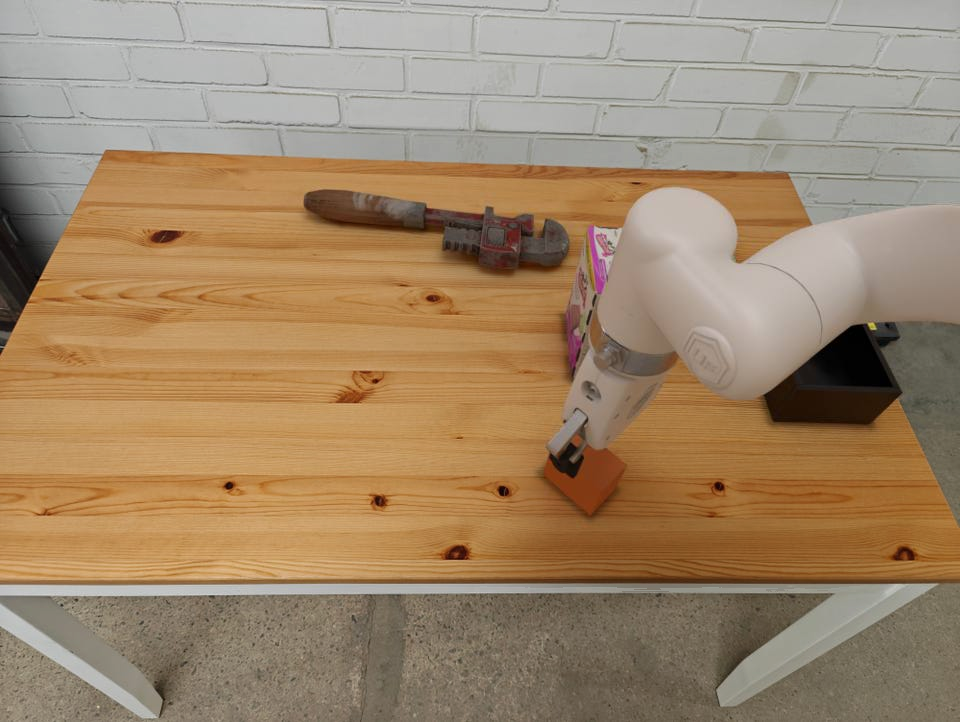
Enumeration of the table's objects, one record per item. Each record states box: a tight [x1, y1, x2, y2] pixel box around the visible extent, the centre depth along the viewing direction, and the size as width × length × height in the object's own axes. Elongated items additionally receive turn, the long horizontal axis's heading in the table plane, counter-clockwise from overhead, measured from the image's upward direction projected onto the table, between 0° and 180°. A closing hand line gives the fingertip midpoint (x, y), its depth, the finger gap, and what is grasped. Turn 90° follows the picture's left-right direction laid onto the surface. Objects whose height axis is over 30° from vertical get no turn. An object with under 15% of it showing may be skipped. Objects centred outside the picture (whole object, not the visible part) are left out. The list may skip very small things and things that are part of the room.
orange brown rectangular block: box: [542, 434, 628, 516], centre depth 69 cm, size 7×4×6 cm, turn 45°
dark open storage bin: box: [763, 323, 903, 425], centre depth 81 cm, size 18×13×7 cm
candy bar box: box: [565, 225, 623, 380], centre depth 77 cm, size 11×5×16 cm, turn 179°
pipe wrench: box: [302, 188, 571, 270], centre depth 93 cm, size 40×12×5 cm, turn 85°
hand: (592, 438), depth 64 cm, fingers open, 9 cm apart
